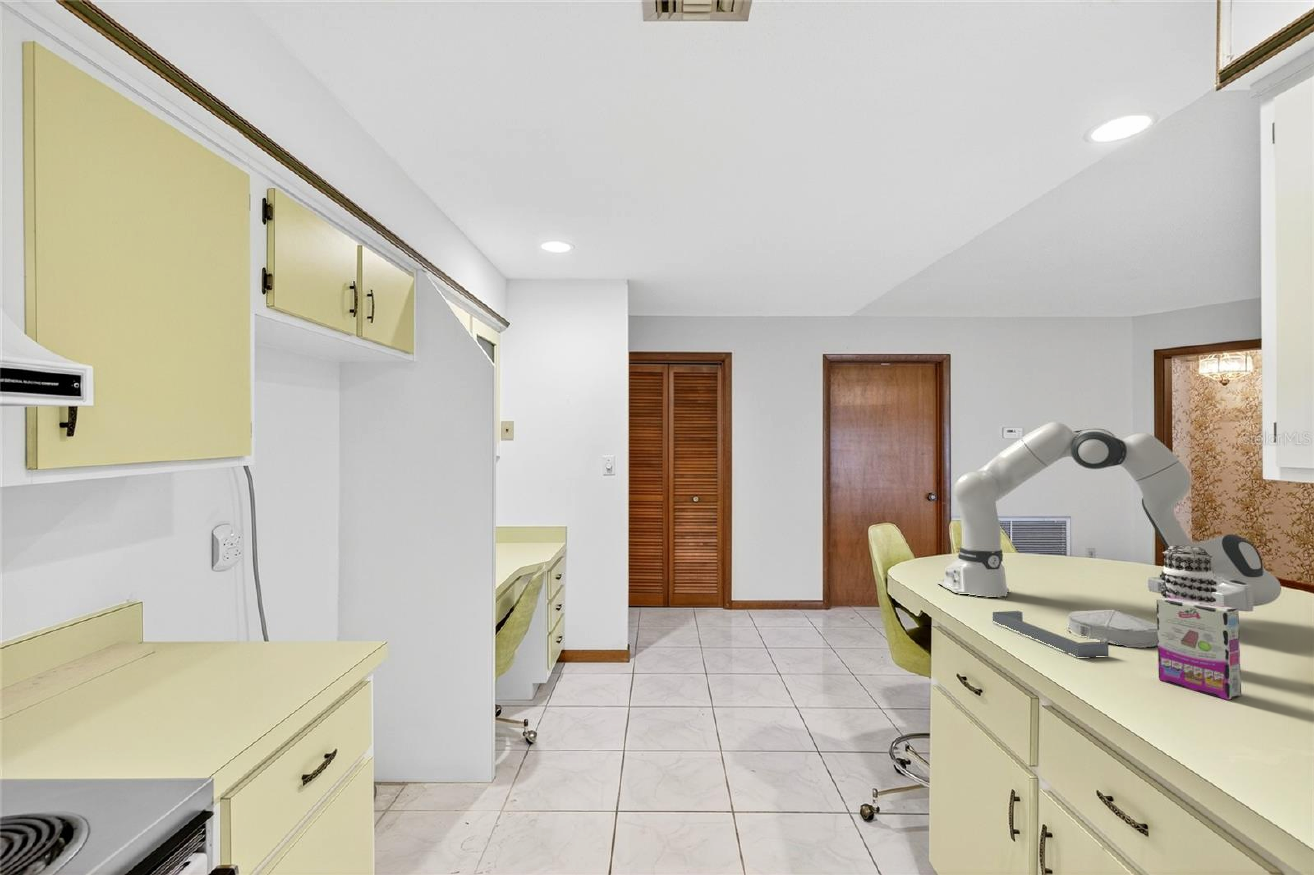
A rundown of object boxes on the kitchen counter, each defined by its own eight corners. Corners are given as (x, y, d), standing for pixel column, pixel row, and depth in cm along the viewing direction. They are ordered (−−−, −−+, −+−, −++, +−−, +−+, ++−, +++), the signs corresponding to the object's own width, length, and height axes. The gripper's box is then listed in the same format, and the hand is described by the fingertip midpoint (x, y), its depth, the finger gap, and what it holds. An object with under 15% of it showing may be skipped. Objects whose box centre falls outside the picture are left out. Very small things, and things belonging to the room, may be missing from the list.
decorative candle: (1156, 663, 128) (1154, 547, 128) (1166, 653, 134) (1163, 542, 134) (1214, 675, 121) (1211, 552, 121) (1221, 665, 127) (1219, 547, 127)
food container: (1045, 630, 154) (1044, 604, 154) (1101, 621, 160) (1100, 596, 160) (1127, 656, 135) (1126, 626, 135) (1187, 645, 141) (1186, 616, 141)
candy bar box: (1242, 696, 111) (1240, 608, 111) (1229, 701, 109) (1227, 611, 109) (1170, 676, 121) (1168, 595, 121) (1157, 680, 119) (1155, 597, 119)
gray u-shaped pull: (992, 623, 157) (992, 612, 158) (1018, 622, 159) (1018, 610, 159) (1078, 659, 131) (1078, 645, 131) (1108, 657, 132) (1108, 643, 132)
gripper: (1173, 570, 162) (1128, 572, 160) (1259, 586, 141) (1209, 589, 139) (1174, 593, 161) (1129, 596, 159) (1260, 613, 141) (1210, 616, 139)
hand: (1167, 593), depth 149 cm, fingers closed
